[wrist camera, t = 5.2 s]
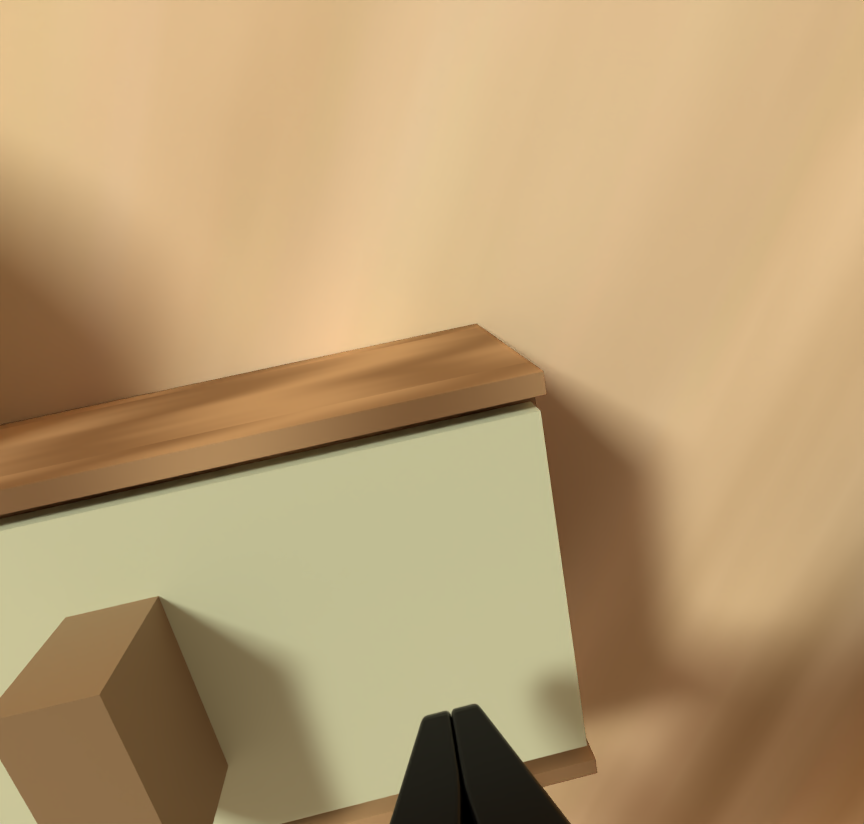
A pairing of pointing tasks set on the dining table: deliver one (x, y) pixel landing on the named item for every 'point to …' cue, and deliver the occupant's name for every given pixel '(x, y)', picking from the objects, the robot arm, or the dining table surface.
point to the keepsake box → (272, 442)
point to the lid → (283, 628)
